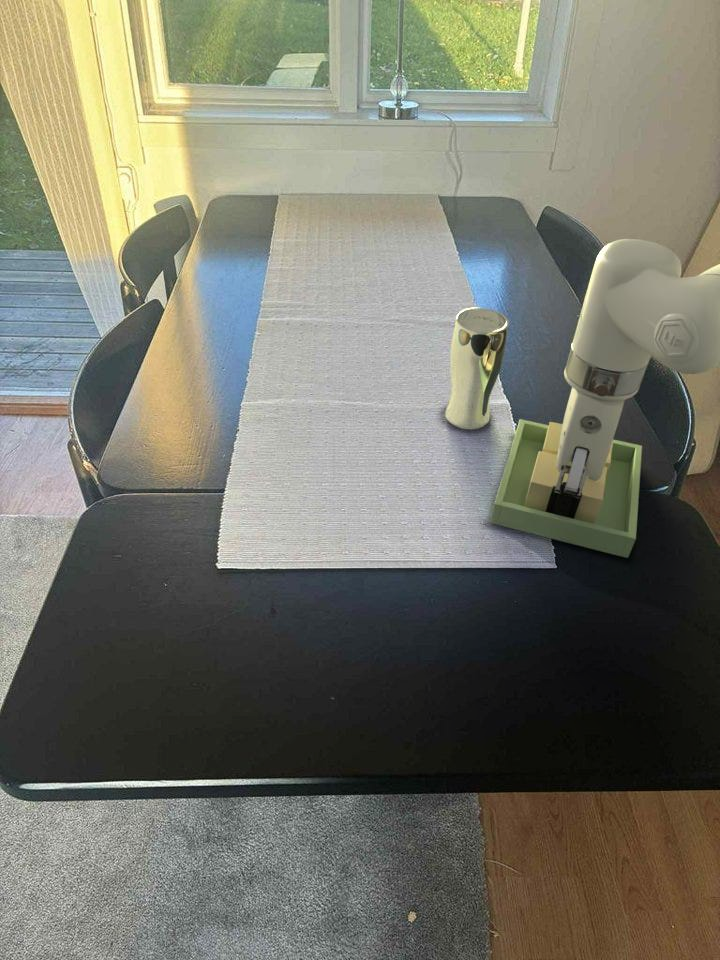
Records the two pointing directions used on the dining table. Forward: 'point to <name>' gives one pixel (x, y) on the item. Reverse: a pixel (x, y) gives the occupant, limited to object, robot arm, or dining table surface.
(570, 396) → the robot arm
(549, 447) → the pale yellow block
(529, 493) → the tan rectangular block
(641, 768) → the dining table surface
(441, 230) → the dining table surface
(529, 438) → the tray
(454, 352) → the beer glass
